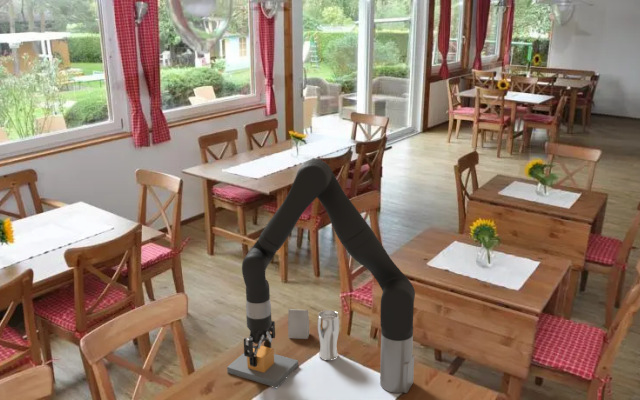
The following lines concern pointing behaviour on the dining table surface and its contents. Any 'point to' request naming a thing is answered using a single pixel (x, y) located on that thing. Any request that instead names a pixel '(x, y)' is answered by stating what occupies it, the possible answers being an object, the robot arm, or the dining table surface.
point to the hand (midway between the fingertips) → (260, 359)
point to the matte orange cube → (263, 359)
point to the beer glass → (328, 333)
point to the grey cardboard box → (298, 324)
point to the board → (270, 376)
